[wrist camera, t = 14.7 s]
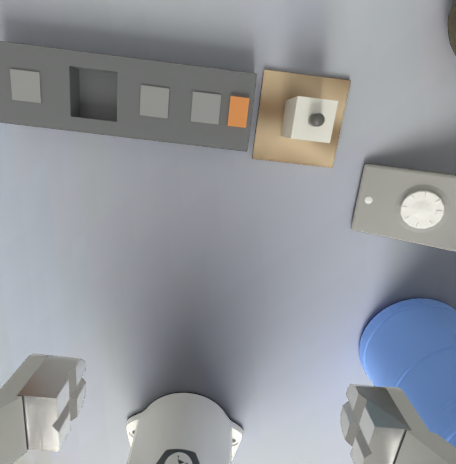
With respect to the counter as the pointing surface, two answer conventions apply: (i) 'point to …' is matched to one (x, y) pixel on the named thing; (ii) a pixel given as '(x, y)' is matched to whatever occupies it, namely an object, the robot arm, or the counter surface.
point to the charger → (309, 119)
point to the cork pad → (272, 111)
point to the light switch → (407, 206)
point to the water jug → (416, 358)
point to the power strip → (125, 96)
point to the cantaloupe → (452, 27)
